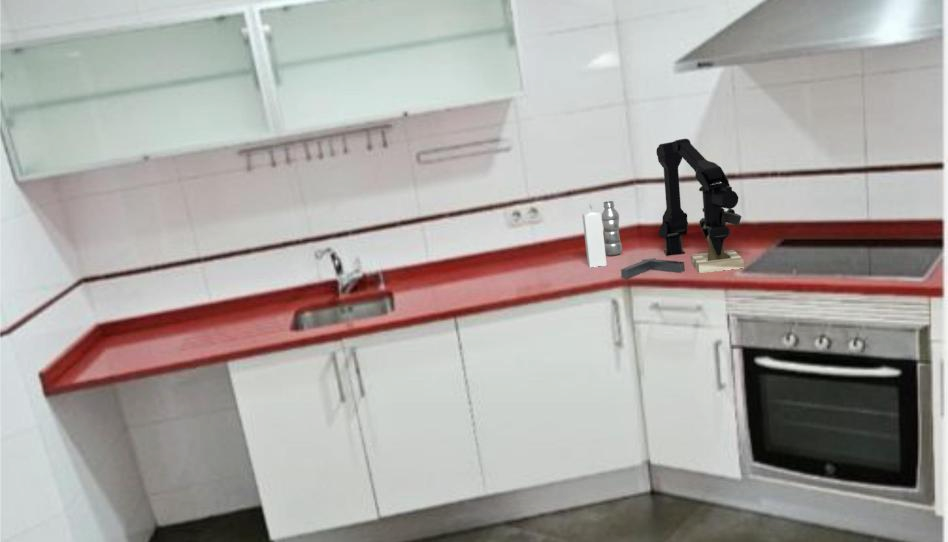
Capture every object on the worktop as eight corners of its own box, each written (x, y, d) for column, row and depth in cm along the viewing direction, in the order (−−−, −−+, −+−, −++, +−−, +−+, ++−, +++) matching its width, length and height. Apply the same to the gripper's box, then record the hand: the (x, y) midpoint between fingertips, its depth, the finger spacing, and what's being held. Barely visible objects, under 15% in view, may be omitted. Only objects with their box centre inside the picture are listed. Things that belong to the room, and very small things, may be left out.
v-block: (619, 270, 278) (618, 262, 277) (679, 263, 275) (679, 255, 275) (622, 279, 267) (621, 270, 266) (685, 272, 264) (684, 263, 264)
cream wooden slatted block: (691, 263, 274) (691, 254, 273) (734, 258, 272) (733, 249, 272) (699, 273, 260) (698, 264, 260) (744, 268, 259) (743, 259, 258)
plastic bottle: (609, 252, 306) (604, 200, 302) (625, 252, 302) (620, 200, 298) (601, 256, 301) (596, 204, 297) (618, 257, 297) (612, 203, 293)
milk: (590, 268, 287) (582, 207, 282) (587, 264, 293) (580, 204, 288) (607, 265, 287) (600, 204, 282) (604, 262, 293) (597, 202, 288)
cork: (724, 262, 269) (722, 230, 266) (728, 266, 263) (726, 233, 261) (706, 264, 270) (703, 232, 267) (709, 269, 264) (706, 236, 261)
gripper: (745, 207, 252) (748, 255, 255) (731, 197, 270) (734, 243, 273) (708, 211, 253) (712, 259, 257) (697, 202, 271) (701, 247, 275)
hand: (716, 252), depth 265 cm, fingers open, 9 cm apart
